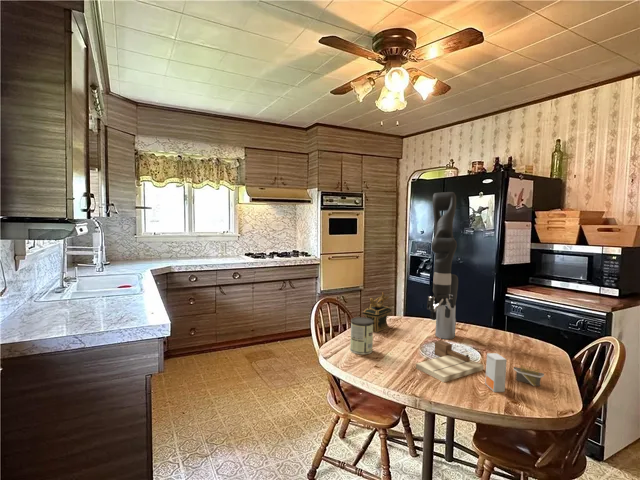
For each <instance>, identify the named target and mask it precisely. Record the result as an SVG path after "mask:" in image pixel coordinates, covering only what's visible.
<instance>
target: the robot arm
mask: <svg viewBox="0 0 640 480" xmlns="http://www.w3.org/2000/svg"><path fill="white" fill-rule="evenodd" d="M432 207H433V208H432V210H433V221H434V237H433V239H432V241H431V251H432V252H433V253H434V254H435V258H434V259H435V261H434V269H433V271H434V273H433V278H432V279H433V281H432V293H433V296H431V295H430V296H429V295H428V296H427V303H426V310H427V311H428V310H429V311H430V315H429V316H430V320H432V321H435V334H434V335H435V337H436V338H440V339H443V340H444V339H445V340H452V339H454V338H455V337H456V328H457V327H456V325H457V319H456V303H457V298H458V290H459V277H458V276H457V275H456V274H455V273H454V274H453V273H452V265H453V263H452V262H453V258H454V256H455V253H456V251H457V248H458V243H457V242H458V241H457V240H456V239H455V238H454V235H453V233H454V232H453V231H454V230H453V225H454V224H453V223H454V219H455V214H456V207H457V195H456V194H455V192H453V191H447V192H446V191H445V192H434V193H433V195H432ZM441 211H443V212H445V211H446V212H445V213H444V214H442V215H441Z"/></svg>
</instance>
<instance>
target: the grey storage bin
mask: <svg viewBox="0 0 640 480" xmlns="http://www.w3.org/2000/svg"><path fill="white" fill-rule="evenodd" d="M539 370H540V369H538V368H536V367H535V368H533V367H530V366H529V367H528V366H525V365H520V367H516V366H514V367H513V371H515V372H516V373H515V381H517V382H520V383H521V382H522V383H525V384H530V385H532V386H533V387H535V386H537V387H538V386H539V387H540V386H541V378H544V376H545V373H543V372H540V371H539Z"/></svg>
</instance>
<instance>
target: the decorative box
mask: <svg viewBox="0 0 640 480" xmlns="http://www.w3.org/2000/svg"><path fill="white" fill-rule="evenodd" d="M381 293H382V294H381V296H378V297H377V298H375V299H374V298H373V297H370V298H369V303H370V305H369V307H367V308H365V309H364V310H363V312H362V314H363V316H364V317H365V318H369V319H372V320H373V321H374V323H373V333H379V332H381V331H383V330H385V329H387V328H389V324H388V323H387V318H388V316H389V315H390V314H391V313H392V311H393V310H392V309H391V308H390V307H389V306H385V305H384V303H385V301H387V300H388V299H389V297H390V296H389V295H388V296H386V295H385V294H384V292H383V291H382V292H381Z"/></svg>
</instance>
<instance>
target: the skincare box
mask: <svg viewBox="0 0 640 480" xmlns="http://www.w3.org/2000/svg"><path fill="white" fill-rule="evenodd" d="M485 364H486V365H485V379H484V384H485V386H487V387H488V388H489V389H490V390H491V391H492V392H493V393H505V392H506V391H505V390H506V379H507V378H506V376H507V374H506V373H507V359H506V358H505V357H503V356H502V355H501V354H499V353H497V352H496V353H491V352H490V353H486V363H485Z"/></svg>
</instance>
